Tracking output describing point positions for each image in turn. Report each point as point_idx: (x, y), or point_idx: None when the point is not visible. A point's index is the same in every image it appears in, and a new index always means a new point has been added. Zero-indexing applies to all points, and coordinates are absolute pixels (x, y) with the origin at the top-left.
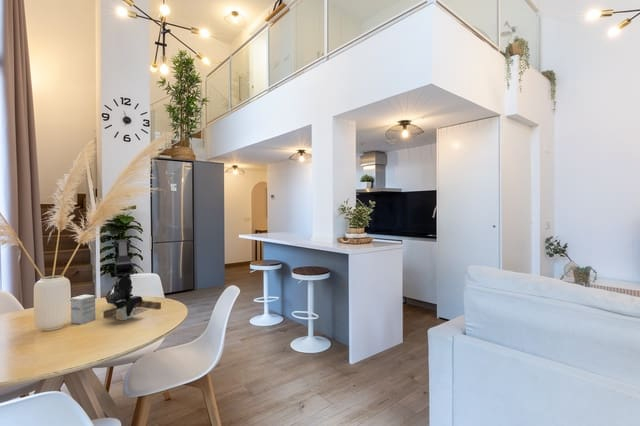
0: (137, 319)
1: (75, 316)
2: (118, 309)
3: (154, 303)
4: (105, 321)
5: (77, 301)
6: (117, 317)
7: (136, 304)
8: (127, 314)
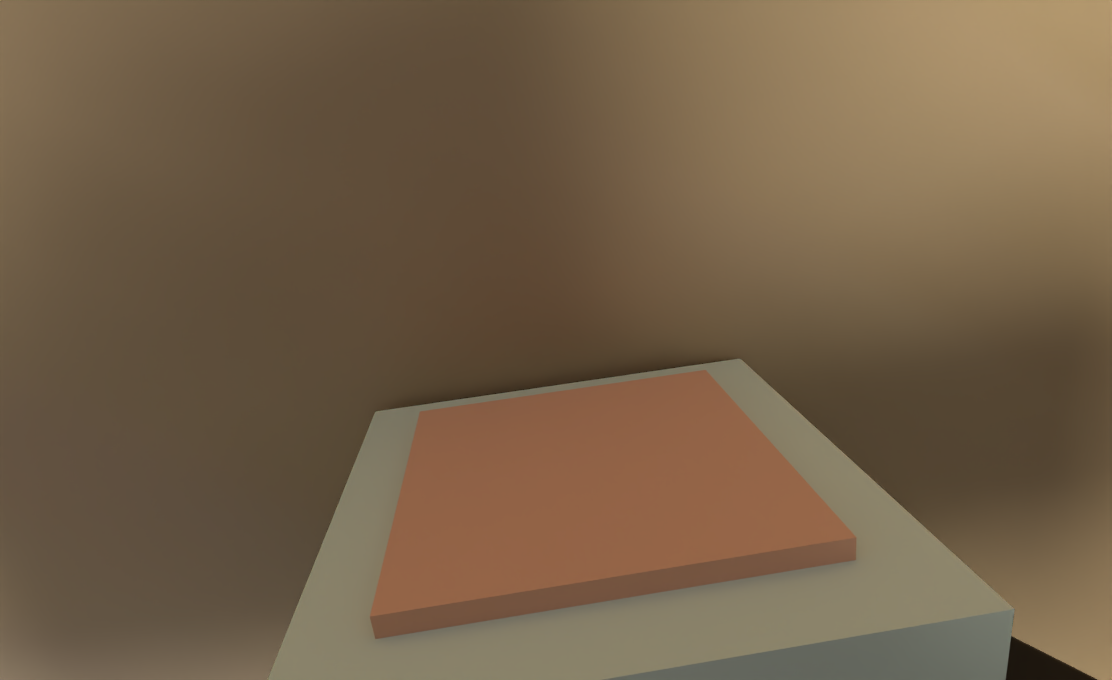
0: (51, 671)
1: None
2: (832, 661)
3: None
4: (926, 26)
5: None
6: (695, 381)
7: None
8: None
